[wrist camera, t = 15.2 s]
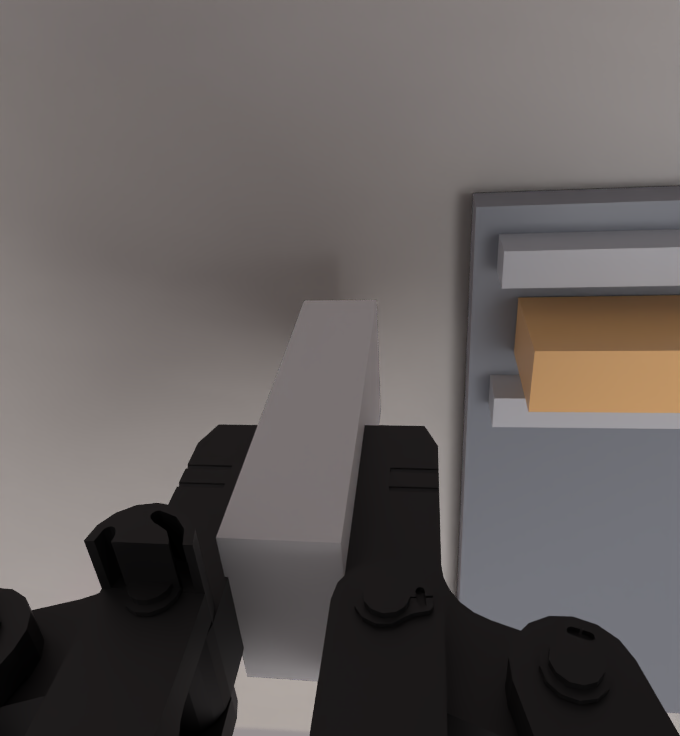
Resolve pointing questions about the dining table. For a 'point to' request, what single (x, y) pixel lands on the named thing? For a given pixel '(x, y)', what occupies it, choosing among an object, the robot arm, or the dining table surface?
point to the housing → (570, 432)
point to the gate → (599, 353)
